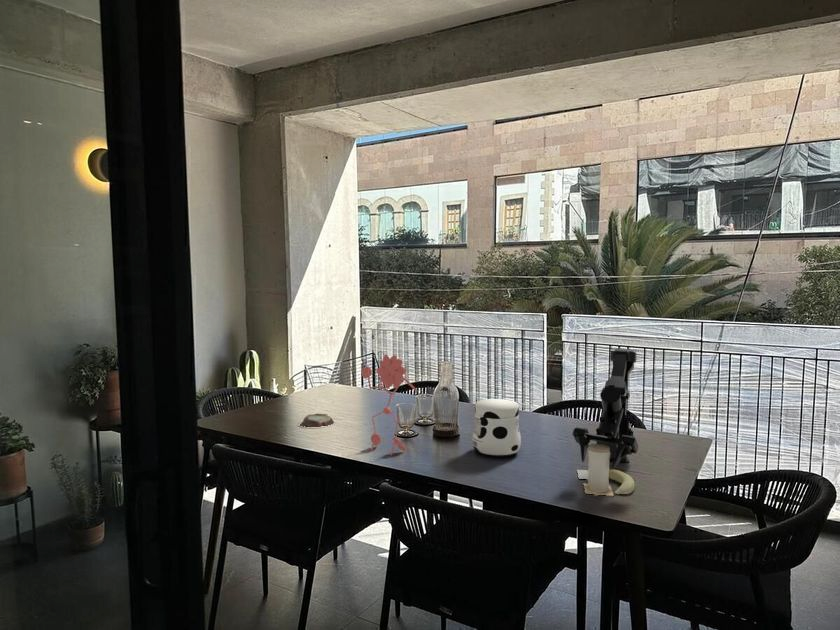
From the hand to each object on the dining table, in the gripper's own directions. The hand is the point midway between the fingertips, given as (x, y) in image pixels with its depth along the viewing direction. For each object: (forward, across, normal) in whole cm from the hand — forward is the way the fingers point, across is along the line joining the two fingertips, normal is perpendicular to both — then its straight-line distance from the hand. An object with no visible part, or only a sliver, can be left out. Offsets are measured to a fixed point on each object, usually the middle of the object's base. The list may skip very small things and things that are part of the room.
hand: (597, 464), depth 175 cm
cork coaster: (+5, 0, -7) cm, 8 cm away
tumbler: (+5, 0, -6) cm, 8 cm away
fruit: (0, -3, -12) cm, 13 cm away
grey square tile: (-2, +6, -14) cm, 15 cm away
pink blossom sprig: (+8, +75, -4) cm, 76 cm away
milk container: (-4, +42, -16) cm, 45 cm away
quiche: (+4, +123, -10) cm, 123 cm away
